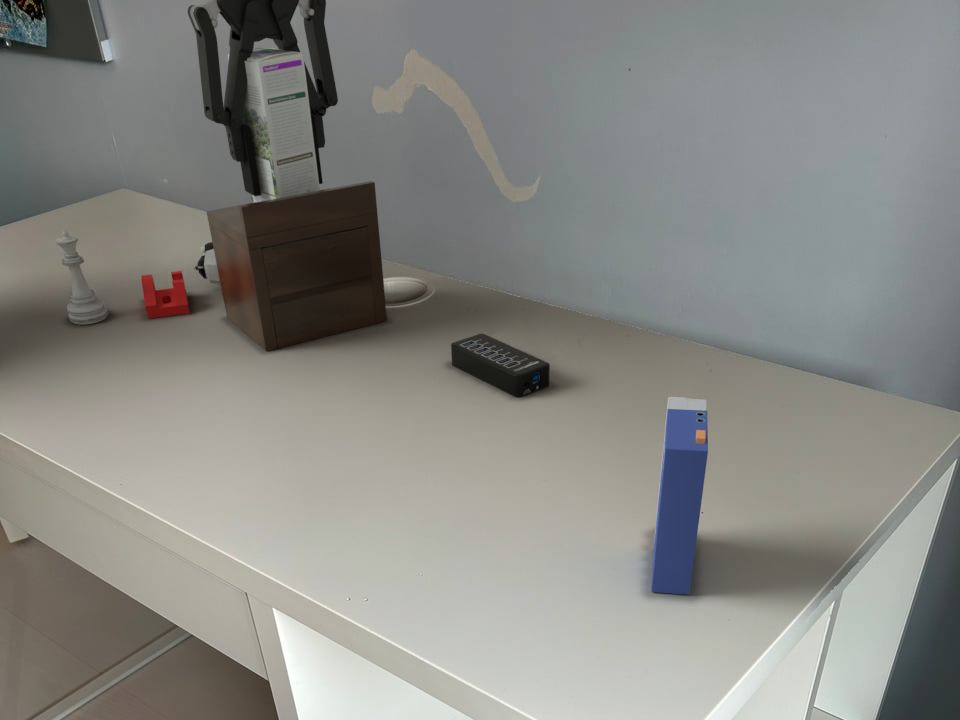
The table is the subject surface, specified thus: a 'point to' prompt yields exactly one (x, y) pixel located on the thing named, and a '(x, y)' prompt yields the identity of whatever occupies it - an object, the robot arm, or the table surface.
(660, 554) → the walkman
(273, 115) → the syrup box
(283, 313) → the wooden drawer cabinet
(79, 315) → the chess piece
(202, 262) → the robot toy
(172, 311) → the bracket
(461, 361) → the multiport hub
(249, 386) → the table surface
